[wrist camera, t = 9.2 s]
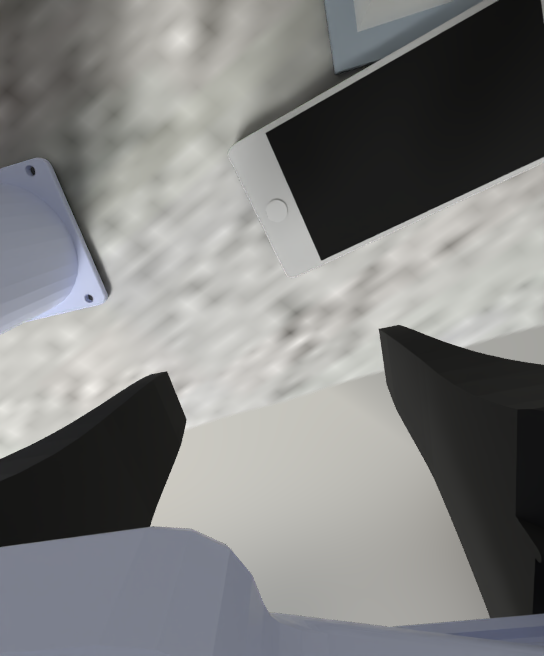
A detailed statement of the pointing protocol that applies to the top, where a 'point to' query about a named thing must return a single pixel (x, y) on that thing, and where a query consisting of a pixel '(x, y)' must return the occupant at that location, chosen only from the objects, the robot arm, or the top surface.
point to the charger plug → (389, 10)
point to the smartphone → (401, 136)
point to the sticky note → (380, 32)
